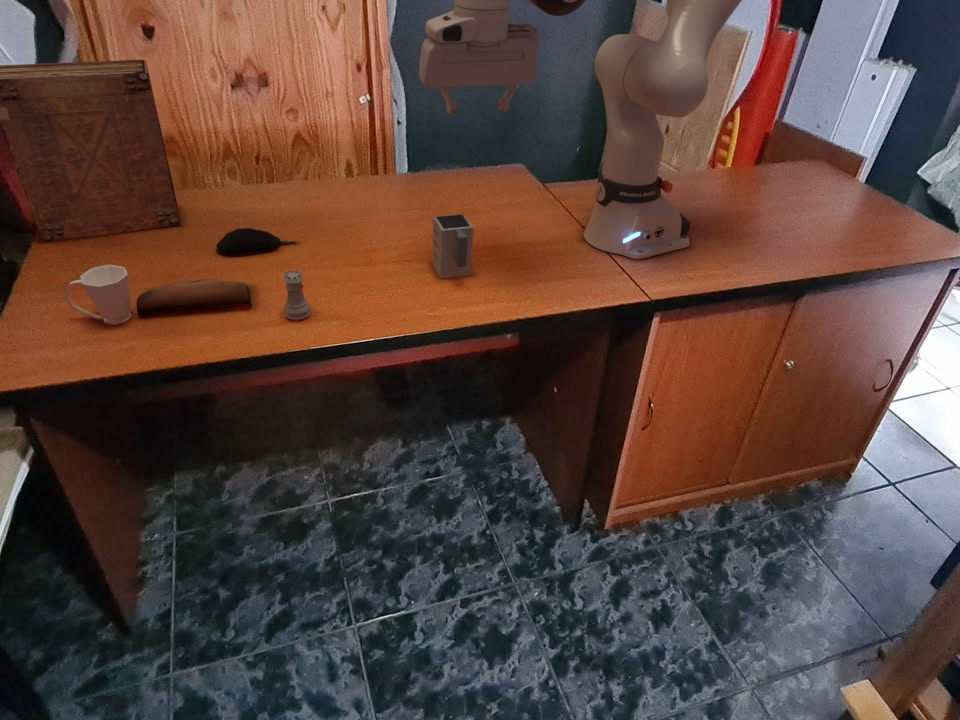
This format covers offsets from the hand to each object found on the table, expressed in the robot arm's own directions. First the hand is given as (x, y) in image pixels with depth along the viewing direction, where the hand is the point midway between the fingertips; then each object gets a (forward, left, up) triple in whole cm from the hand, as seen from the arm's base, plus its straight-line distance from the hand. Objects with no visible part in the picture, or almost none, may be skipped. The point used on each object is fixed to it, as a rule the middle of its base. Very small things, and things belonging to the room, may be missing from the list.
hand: (477, 111), depth 120 cm
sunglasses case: (+51, +6, -29) cm, 59 cm away
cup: (+65, +8, -29) cm, 71 cm away
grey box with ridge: (+5, +1, -23) cm, 24 cm away
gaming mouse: (+40, -12, -29) cm, 51 cm away
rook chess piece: (+35, +14, -29) cm, 47 cm away
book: (+67, -28, -29) cm, 78 cm away
